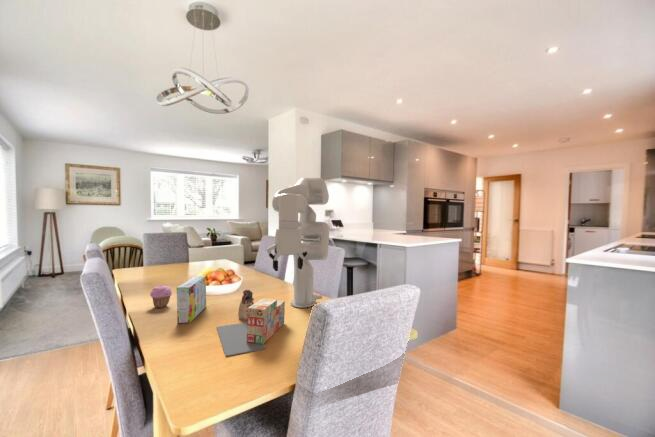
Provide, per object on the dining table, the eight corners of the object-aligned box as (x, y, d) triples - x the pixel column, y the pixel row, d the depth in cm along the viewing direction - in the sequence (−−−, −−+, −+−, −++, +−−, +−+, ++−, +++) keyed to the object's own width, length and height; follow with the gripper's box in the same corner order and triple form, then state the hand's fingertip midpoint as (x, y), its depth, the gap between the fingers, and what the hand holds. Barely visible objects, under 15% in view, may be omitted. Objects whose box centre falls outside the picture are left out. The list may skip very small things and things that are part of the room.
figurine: (258, 316, 132) (258, 288, 132) (248, 321, 125) (248, 292, 125) (245, 313, 135) (246, 286, 135) (234, 318, 128) (234, 290, 128)
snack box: (194, 307, 143) (194, 275, 142) (206, 307, 143) (206, 275, 143) (176, 323, 122) (176, 286, 121) (190, 323, 122) (190, 286, 122)
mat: (249, 322, 124) (249, 321, 124) (265, 349, 100) (265, 348, 100) (216, 327, 118) (216, 326, 118) (225, 356, 95) (225, 355, 95)
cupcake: (146, 308, 141) (146, 286, 140) (162, 302, 149) (162, 282, 148) (159, 310, 137) (159, 288, 137) (175, 305, 145) (175, 284, 145)
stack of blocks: (270, 321, 125) (271, 292, 125) (284, 323, 124) (285, 293, 123) (246, 342, 104) (247, 307, 104) (263, 344, 103) (264, 308, 102)
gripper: (305, 225, 124) (305, 266, 124) (264, 225, 116) (263, 269, 117) (312, 225, 117) (312, 269, 117) (268, 226, 109) (268, 273, 110)
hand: (288, 269), depth 117 cm, fingers open, 9 cm apart
